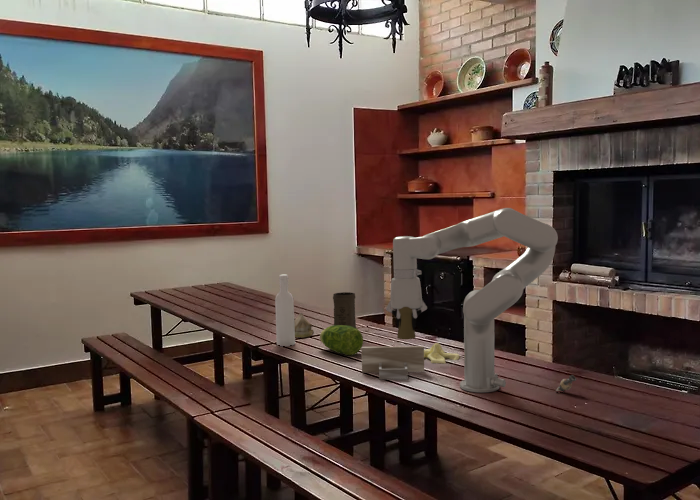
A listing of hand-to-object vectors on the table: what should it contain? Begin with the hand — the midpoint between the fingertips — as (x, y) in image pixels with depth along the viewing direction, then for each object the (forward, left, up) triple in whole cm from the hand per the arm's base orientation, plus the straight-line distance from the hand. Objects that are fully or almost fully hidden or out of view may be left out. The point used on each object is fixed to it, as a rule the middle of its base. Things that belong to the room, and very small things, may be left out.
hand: (407, 329), depth 212 cm
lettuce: (+47, -22, -19) cm, 56 cm away
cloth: (+11, -35, -19) cm, 42 cm away
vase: (-46, -20, -19) cm, 53 cm away
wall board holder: (+10, -6, -19) cm, 22 cm away
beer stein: (+64, -47, -19) cm, 82 cm away
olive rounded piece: (0, 0, -3) cm, 3 cm away
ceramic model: (+83, -39, -19) cm, 94 cm away
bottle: (+75, -20, -19) cm, 80 cm away
